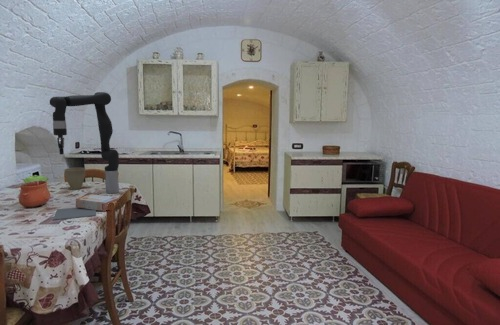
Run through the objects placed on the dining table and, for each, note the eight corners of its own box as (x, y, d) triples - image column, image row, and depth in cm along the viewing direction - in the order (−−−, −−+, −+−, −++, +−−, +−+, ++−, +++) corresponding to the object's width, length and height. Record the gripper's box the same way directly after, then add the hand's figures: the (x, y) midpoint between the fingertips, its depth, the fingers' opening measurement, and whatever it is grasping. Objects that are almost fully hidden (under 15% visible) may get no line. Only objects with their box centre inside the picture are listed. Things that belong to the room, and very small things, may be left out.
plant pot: (61, 189, 259) (60, 169, 257) (79, 185, 272) (78, 166, 269) (72, 191, 251) (70, 171, 249) (90, 188, 264) (89, 168, 262)
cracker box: (75, 207, 204) (105, 211, 200) (75, 198, 203) (105, 202, 199) (90, 202, 218) (118, 206, 214) (90, 193, 217) (118, 197, 213)
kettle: (21, 191, 250) (20, 177, 248) (29, 187, 263) (27, 174, 262) (43, 190, 254) (42, 176, 252) (49, 186, 267) (48, 173, 265)
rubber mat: (57, 210, 203) (57, 209, 203) (96, 206, 212) (96, 205, 212) (52, 220, 183) (52, 219, 183) (96, 215, 192) (95, 214, 192)
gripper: (65, 128, 208) (67, 155, 210) (67, 127, 220) (69, 152, 222) (51, 128, 205) (53, 155, 207) (54, 127, 217) (56, 153, 219)
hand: (61, 154), depth 215 cm, fingers closed
